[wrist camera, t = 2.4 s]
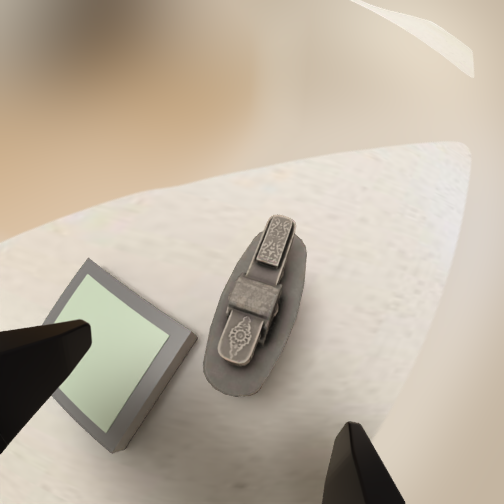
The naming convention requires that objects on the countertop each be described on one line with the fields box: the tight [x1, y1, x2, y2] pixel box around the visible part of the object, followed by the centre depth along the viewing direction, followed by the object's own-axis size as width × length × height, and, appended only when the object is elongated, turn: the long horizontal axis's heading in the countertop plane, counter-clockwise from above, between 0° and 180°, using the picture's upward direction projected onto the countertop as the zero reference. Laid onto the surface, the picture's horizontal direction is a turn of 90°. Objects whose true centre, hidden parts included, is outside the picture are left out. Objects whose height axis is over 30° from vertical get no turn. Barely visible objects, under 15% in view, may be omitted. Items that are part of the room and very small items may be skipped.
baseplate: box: [42, 258, 198, 453], centre depth 18 cm, size 10×10×2 cm
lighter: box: [203, 215, 307, 397], centre depth 15 cm, size 8×3×10 cm, turn 160°
